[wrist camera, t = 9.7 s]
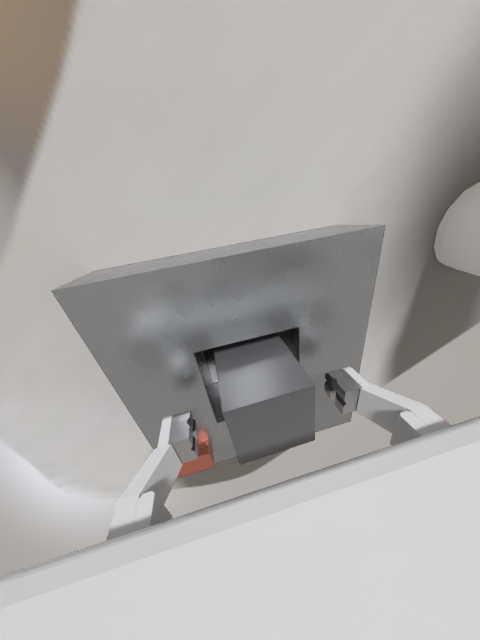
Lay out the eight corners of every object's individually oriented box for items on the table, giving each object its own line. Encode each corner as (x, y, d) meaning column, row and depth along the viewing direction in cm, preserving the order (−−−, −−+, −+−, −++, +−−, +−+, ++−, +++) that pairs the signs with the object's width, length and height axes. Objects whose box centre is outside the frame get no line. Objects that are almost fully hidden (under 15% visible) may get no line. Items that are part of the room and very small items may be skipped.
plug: (211, 330, 15) (222, 412, 8) (264, 316, 15) (315, 384, 9) (223, 372, 17) (239, 464, 11) (270, 359, 18) (314, 440, 11)
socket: (94, 270, 12) (33, 298, 7) (335, 225, 13) (404, 225, 9) (175, 430, 19) (169, 492, 15) (324, 388, 21) (358, 431, 16)
